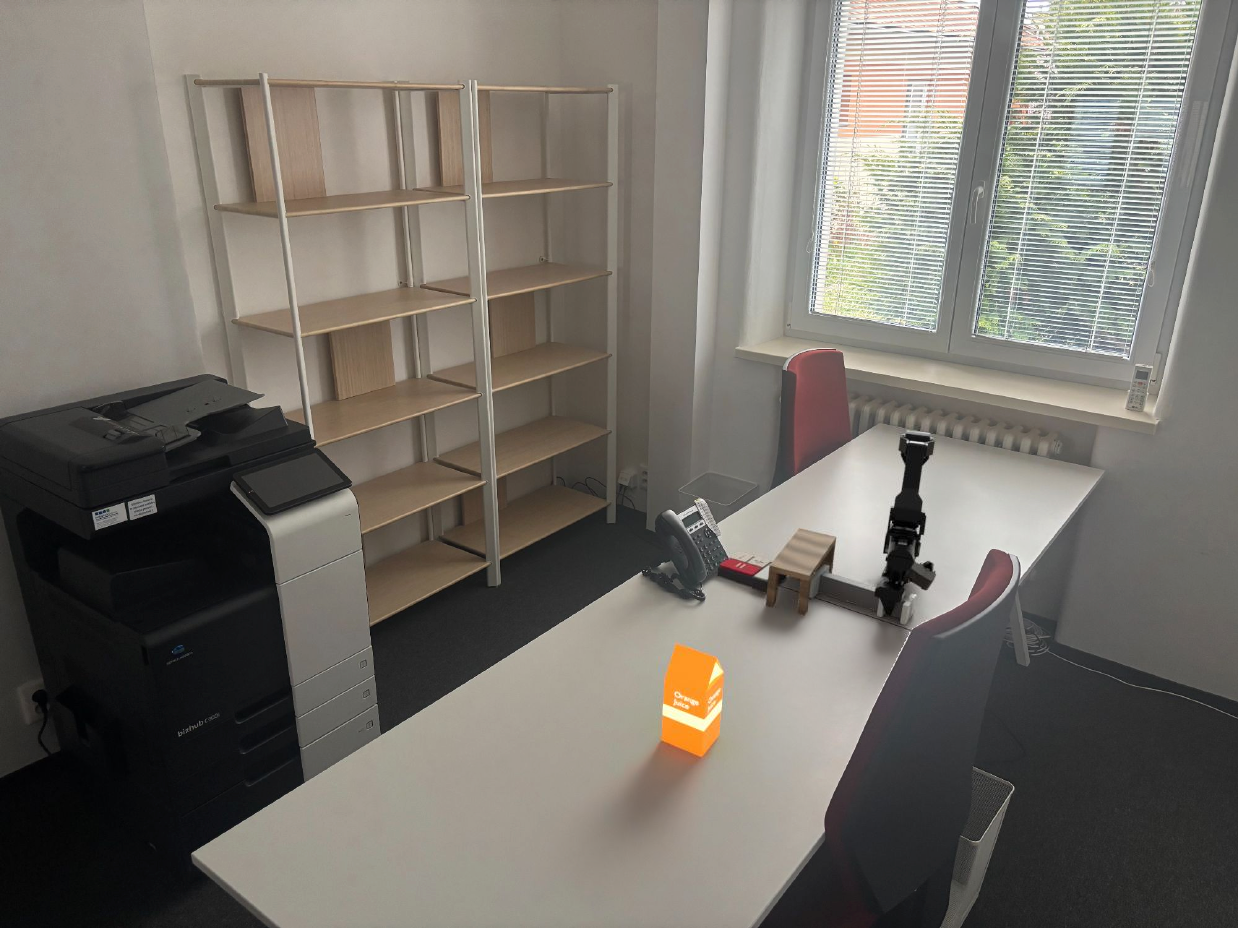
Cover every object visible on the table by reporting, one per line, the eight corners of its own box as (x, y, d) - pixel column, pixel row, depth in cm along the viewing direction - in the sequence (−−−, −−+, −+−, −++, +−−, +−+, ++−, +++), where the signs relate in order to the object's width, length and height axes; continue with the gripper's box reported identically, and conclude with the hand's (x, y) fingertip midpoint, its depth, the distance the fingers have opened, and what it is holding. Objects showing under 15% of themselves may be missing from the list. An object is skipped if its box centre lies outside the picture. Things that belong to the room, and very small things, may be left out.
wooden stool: (795, 564, 235) (799, 528, 231) (831, 574, 231) (836, 536, 227) (765, 604, 216) (769, 565, 212) (804, 615, 211) (809, 575, 207)
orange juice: (701, 757, 163) (707, 668, 156) (660, 740, 168) (664, 652, 160) (719, 734, 170) (726, 647, 162) (680, 718, 174) (684, 633, 167)
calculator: (738, 549, 236) (788, 563, 227) (738, 563, 238) (787, 578, 229) (716, 564, 228) (767, 579, 219) (716, 578, 230) (766, 594, 221)
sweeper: (821, 581, 227) (824, 564, 226) (915, 610, 215) (918, 592, 213) (806, 596, 220) (808, 578, 218) (903, 627, 207) (906, 609, 205)
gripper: (928, 577, 196) (918, 636, 202) (942, 545, 211) (933, 600, 217) (878, 565, 201) (869, 623, 207) (896, 534, 216) (887, 589, 222)
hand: (891, 609), depth 213 cm, fingers closed on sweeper, 7 cm apart
